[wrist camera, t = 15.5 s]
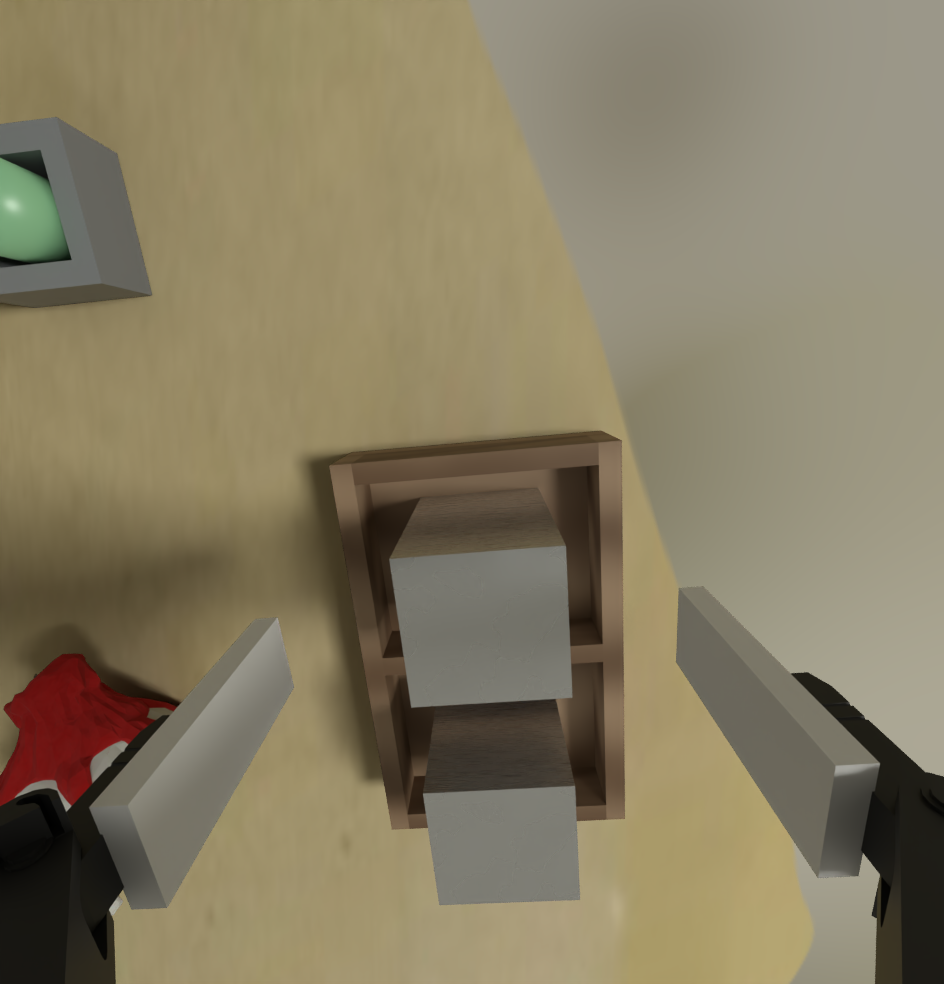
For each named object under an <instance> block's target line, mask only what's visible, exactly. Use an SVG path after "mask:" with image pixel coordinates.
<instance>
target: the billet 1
mask: <svg viewBox="0 0 944 984" xmlns="http://www.w3.org/2000/svg"><path fill="white" fill-rule="evenodd" d="M389 560H390V567H391V574H392V581H393V587H394V594H395V601H396V608H397V614H398V621H399V628H400V635H401V641H402V648H403V655H404V662H405V668H406V675H407V682H408V689H409V695H410V702H411V708H412V707H428V706H445V705H461V704H478V703H495V702H511V701H528V700H545V699H561V698H572V676H571V653H570V630H569V606H568V583H567V560H566V545H565V543H564V541H563V538H562V536H561V534H560V532H559V530H558V528H557V526H556V524H555V522H554V520H553V517H552V515H551V513H550V511H549V509H548V507H547V505H546V503H545V501H544V499H543V497H542V494H541V492H540V490H539V488H528V489H515V490H503V491H491V492H479V493H467V494H455V495H443V496H431V497H421V498H420V500H419V502H418V504H417V506H416V508H415V510H414V512H413V514H412V516H411V518H410V520H409V522H408V524H407V525H406V527H405V529H404V531H403V533H402V535H401V537H400V539H399V541H398V543H397V545H396V547H395V549H394V551H393V553H392V555H391V557H390V559H389Z"/></svg>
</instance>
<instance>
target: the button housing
mask: <svg viewBox="0 0 944 984" xmlns="http://www.w3.org/2000/svg"><path fill="white" fill-rule="evenodd" d="M0 158H2V159H4V160H6V161H9V162H11V163H13V164H15V165H18V166H20V167H22V168H24V169H26V170H29V171H31V172H33V173H35V174H38V175H40V176H42V177H44V178H47V179H49V182H50V185H51V189H52V192H53V196H54V199H55V203H56V206H57V210H58V213H59V217H60V220H61V224H62V227H63V231H64V234H65V238H66V241H67V245H68V248H69V252H70V255H71V259H72V260H67V261H58V262H49V263H40V264H31V263H26V262H22V261H18V260H14V259H10V258H6V257H2V256H0V303H6V304H13V305H20V306H27V307H33V308H38V307H47V306H56V305H66V304H75V303H85V302H94V301H103V300H113V299H122V298H132V297H141V296H150V295H152V293H151V289H150V285H149V281H148V276H147V272H146V268H145V264H144V260H143V256H142V252H141V248H140V244H139V240H138V236H137V232H136V228H135V224H134V220H133V216H132V212H131V208H130V204H129V200H128V196H127V192H126V188H125V184H124V180H123V176H122V172H121V168H120V164H119V160H118V156H117V153H115V152H114V151H112V150H110V149H109V148H107V147H105V146H104V145H102V144H100V143H99V142H97V141H95V140H94V139H92V138H90V137H89V136H87V135H85V134H84V133H82V132H80V131H79V130H77V129H75V128H74V127H72V126H70V125H69V124H67V123H65V122H64V121H62V120H60V119H59V118H57V117H53V118H45V119H37V120H30V121H22V122H14V123H6V124H0Z"/></svg>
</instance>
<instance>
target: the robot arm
mask: <svg viewBox="0 0 944 984" xmlns="http://www.w3.org/2000/svg"><path fill="white" fill-rule="evenodd" d="M676 662H677V664H678V666H679V667H680V669H681V670H682V672H683V673H684V675H685V676H686V678H687V679H688V681H689V682H690V684H691V685H692V687H693V688H694V690H695V691H696V693H697V694H698V696H699V698H700V699H701V701H702V702H703V704H704V705H705V707H706V708H707V710H708V711H709V713H710V714H711V716H712V717H713V719H714V720H715V722H716V723H717V725H718V726H719V728H720V730H721V731H722V733H723V734H724V736H725V737H726V739H727V740H728V742H729V743H730V745H731V746H732V748H733V749H734V751H735V752H736V754H737V755H738V757H739V758H740V760H741V762H742V763H743V765H744V766H745V768H746V769H747V771H748V772H749V774H750V775H751V777H752V778H753V780H754V781H755V783H756V784H757V786H758V787H759V789H760V791H761V792H762V794H763V795H764V797H765V798H766V800H767V801H768V803H769V804H770V806H771V807H772V809H773V810H774V812H775V813H776V815H777V816H778V818H779V819H780V821H781V823H782V824H783V826H784V827H785V829H786V830H787V832H788V833H789V835H790V836H791V838H792V839H793V841H794V842H795V844H796V845H797V847H798V848H799V850H800V851H801V853H802V854H803V856H804V857H805V859H806V860H807V862H808V864H809V865H810V866H811V868H812V870H813V871H814V873H815V874H816V876H817V877H818V878H826V877H827V878H828V877H850V876H858V875H859V870H860V865H861V860H862V855H863V853H864V854H865V856H866V857H867V858H868V860H869V861H870V862H871V863H872V865H873V866H874V867H875V869H876V870H877V871H878V872H879V873H880V878H879V883H878V888H877V892H876V897H875V902H874V907H873V912H872V916H874V917H875V918H877V935H876V972H875V973H876V974H875V984H944V777H943V776H939V775H935V774H932V773H927V772H924V771H923V770H922V769H921V768H920V767H919V766H918V765H917V764H916V763H915V762H914V761H913V760H911V759H910V758H909V757H908V756H907V755H906V754H905V753H904V752H903V751H901V749H899V748H898V747H897V746H896V745H895V744H894V743H893V742H892V741H891V740H890V739H889V738H887V737H886V736H885V735H884V734H883V733H882V732H881V731H880V730H879V729H878V728H877V727H876V726H874V725H873V724H872V723H871V722H870V721H869V720H865V718H864V715H862V714H861V713H860V712H859V711H858V710H857V709H856V708H855V707H854V706H850V704H849V702H848V701H847V700H846V699H845V698H844V697H843V696H842V695H841V694H839V692H837V691H836V690H835V689H834V688H833V687H832V686H830V685H829V684H827V683H825V682H823V681H822V680H820V679H818V678H817V677H815V676H813V675H811V674H810V673H807V672H806V673H792V674H790V673H789V672H788V671H787V670H786V669H785V668H784V667H783V666H782V665H781V664H780V663H779V662H778V661H777V660H776V659H775V658H774V657H773V656H772V655H771V654H770V653H769V652H768V651H767V650H766V649H765V648H764V647H763V646H762V645H761V644H760V643H759V642H758V641H757V640H756V639H755V638H754V637H753V636H752V635H751V634H750V633H749V632H748V631H747V630H746V629H745V628H744V627H743V626H742V625H741V624H740V623H739V622H738V621H737V620H736V619H735V618H734V617H733V616H732V615H731V614H730V613H729V612H728V611H727V610H726V609H725V608H724V607H723V606H722V605H721V604H720V603H719V602H718V601H717V600H716V599H715V598H714V597H713V596H712V595H711V594H710V593H709V592H708V591H707V590H706V589H705V588H704V587H703V586H701V587H688V588H679V597H678V625H677V653H676ZM293 688H294V685H293V681H292V676H291V672H290V668H289V664H288V659H287V655H286V651H285V647H284V642H283V638H282V634H281V630H280V625H279V621H278V617H276V618H262V619H255V620H254V621H253V622H252V623H251V624H250V625H249V626H248V628H247V629H246V630H245V631H244V632H243V633H242V634H241V636H240V637H239V638H238V639H237V640H236V641H235V642H234V644H233V645H232V646H231V647H230V648H229V649H228V650H227V651H226V653H225V654H224V655H223V656H222V657H221V658H220V659H219V661H218V662H217V663H216V664H215V665H214V666H213V667H212V668H211V670H210V671H209V672H208V673H207V674H206V675H205V676H204V678H203V679H202V680H201V681H200V682H199V683H198V684H197V686H196V687H195V688H194V689H193V690H192V691H191V692H190V693H189V695H188V696H187V697H186V698H185V699H184V700H183V701H182V703H181V704H180V705H179V706H178V707H177V708H176V709H175V710H174V712H173V713H172V714H171V715H162V716H161V717H159V718H158V719H157V720H155V721H154V722H152V723H151V724H150V725H148V726H147V727H146V728H144V729H143V730H141V731H140V732H139V734H138V735H137V736H136V737H135V738H134V739H133V740H132V741H131V742H130V743H129V744H128V745H127V747H126V748H125V751H124V752H121V753H120V754H119V755H118V756H117V757H116V758H115V760H114V761H113V762H112V763H111V766H110V767H107V768H106V769H105V770H104V771H103V773H102V774H101V775H100V776H99V777H98V778H97V779H96V780H95V781H94V782H93V783H92V784H91V786H90V787H89V788H88V789H87V790H86V791H85V792H84V793H83V794H82V795H81V796H80V797H79V799H78V800H77V801H76V802H75V803H74V804H73V805H72V806H71V807H70V808H69V809H68V810H67V812H66V810H65V807H64V805H63V803H62V801H61V798H60V796H59V794H58V791H57V790H54V789H51V788H44V789H38V790H33V791H31V792H28V793H25V794H23V795H20V796H18V797H16V798H14V799H12V800H10V801H9V802H7V803H5V804H3V805H1V806H0V984H116V979H115V947H114V921H113V918H112V916H111V913H110V911H109V909H110V907H111V906H112V904H113V903H114V901H115V900H116V899H117V897H118V896H119V894H120V893H121V891H122V890H124V893H125V895H126V897H127V900H128V902H129V905H130V907H131V909H153V908H167V907H168V906H169V904H170V902H171V900H172V899H173V897H174V895H175V893H176V892H177V890H178V888H179V886H180V885H181V883H182V881H183V879H184V878H185V876H186V874H187V872H188V871H189V869H190V867H191V866H192V864H193V862H194V860H195V859H196V857H197V855H198V853H199V852H200V850H201V848H202V846H203V845H204V843H205V841H206V839H207V838H208V836H209V834H210V832H211V831H212V829H213V827H214V826H215V824H216V822H217V820H218V819H219V817H220V815H221V813H222V812H223V810H224V808H225V806H226V805H227V803H228V801H229V799H230V798H231V796H232V794H233V793H234V791H235V789H236V787H237V786H238V784H239V782H240V780H241V779H242V777H243V775H244V773H245V772H246V770H247V768H248V766H249V765H250V763H251V761H252V759H253V758H254V756H255V754H256V753H257V751H258V749H259V747H260V746H261V744H262V742H263V740H264V739H265V737H266V735H267V733H268V732H269V730H270V728H271V726H272V725H273V723H274V721H275V719H276V718H277V716H278V714H279V713H280V711H281V709H282V707H283V706H284V704H285V702H286V700H287V699H288V697H289V695H290V693H291V692H292V690H293Z"/></svg>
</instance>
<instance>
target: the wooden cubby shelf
mask: <svg viewBox="0 0 944 984" xmlns="http://www.w3.org/2000/svg"><path fill="white" fill-rule="evenodd" d="M329 468H330V474H331V479H332V485H333V491H334V497H335V502H336V508H337V514H338V520H339V526H340V531H341V537H342V543H343V549H344V555H345V560H346V566H347V572H348V578H349V583H350V589H351V595H352V601H353V607H354V612H355V618H356V624H357V630H358V635H359V641H360V647H361V653H362V659H363V664H364V670H365V676H366V682H367V687H368V693H369V699H370V705H371V711H372V716H373V722H374V728H375V734H376V739H377V745H378V751H379V757H380V763H381V768H382V774H383V780H384V786H385V792H386V797H387V803H388V809H389V815H390V820H391V826H392V829H413V828H428V824H427V818H426V811H425V804H424V797H423V790H424V783H425V776H426V769H427V762H428V756H429V749H430V742H431V735H432V728H433V721H434V715H435V708H436V706H428V707H412V708H411V702H410V695H409V689H408V682H407V675H406V668H405V662H404V655H403V648H402V641H401V635H400V628H399V621H398V614H397V608H396V601H395V594H394V587H393V581H392V574H391V567H390V560H389V559H390V557H391V555H392V553H393V551H394V549H395V547H396V545H397V543H398V541H399V539H400V537H401V535H402V533H403V531H404V529H405V527H406V525H407V524H408V522H409V520H410V518H411V516H412V514H413V512H414V510H415V508H416V506H417V504H418V502H419V500H420V498H421V497H431V496H443V495H455V494H467V493H479V492H491V491H503V490H515V489H528V488H539V490H540V492H541V494H542V497H543V499H544V501H545V503H546V505H547V507H548V509H549V511H550V513H551V515H552V517H553V520H554V522H555V524H556V526H557V528H558V530H559V532H560V534H561V536H562V538H563V541H564V543H565V545H566V560H567V583H568V606H569V630H570V653H571V676H572V698H561V699H556V702H557V706H558V711H559V715H560V720H561V724H562V729H563V733H564V738H565V742H566V747H567V752H568V756H569V761H570V765H571V770H572V774H573V779H574V783H575V795H576V818H577V821H587V820H608V819H625V775H624V658H623V541H622V440H620V439H617V438H615V437H613V436H611V435H609V434H607V433H605V432H603V431H594V432H582V433H571V434H559V435H548V436H536V437H525V438H513V439H502V440H490V441H479V442H467V443H456V444H444V445H433V446H421V447H410V448H398V449H387V450H375V451H364V452H352V453H350V454H348V455H346V456H345V457H343V458H341V459H340V460H338V461H336V462H334V463H333V464H331V465H329Z"/></svg>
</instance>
